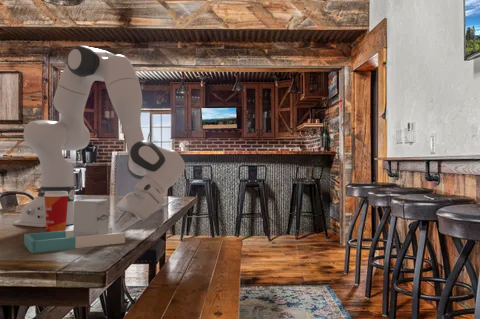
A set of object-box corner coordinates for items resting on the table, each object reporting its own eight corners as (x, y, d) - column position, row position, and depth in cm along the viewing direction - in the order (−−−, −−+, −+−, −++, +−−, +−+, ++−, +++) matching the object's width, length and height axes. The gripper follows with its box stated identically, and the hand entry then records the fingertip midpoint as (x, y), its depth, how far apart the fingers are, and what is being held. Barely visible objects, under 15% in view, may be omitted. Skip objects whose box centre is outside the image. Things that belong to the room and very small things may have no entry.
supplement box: (95, 245, 117) (96, 201, 117) (72, 244, 118) (73, 200, 118) (108, 240, 124) (109, 199, 124) (86, 239, 126) (87, 198, 126)
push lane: (31, 253, 106) (31, 241, 106) (24, 244, 117) (24, 234, 117) (125, 242, 120) (125, 232, 120) (111, 236, 131) (111, 226, 131)
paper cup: (43, 232, 135) (44, 190, 135) (68, 231, 138) (69, 190, 138) (42, 237, 128) (42, 192, 128) (68, 235, 131) (69, 192, 131)
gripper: (129, 183, 139) (100, 214, 133) (154, 187, 122) (121, 222, 116) (142, 196, 141) (113, 226, 136) (167, 201, 124) (136, 236, 119)
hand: (117, 224), depth 126 cm, fingers closed
